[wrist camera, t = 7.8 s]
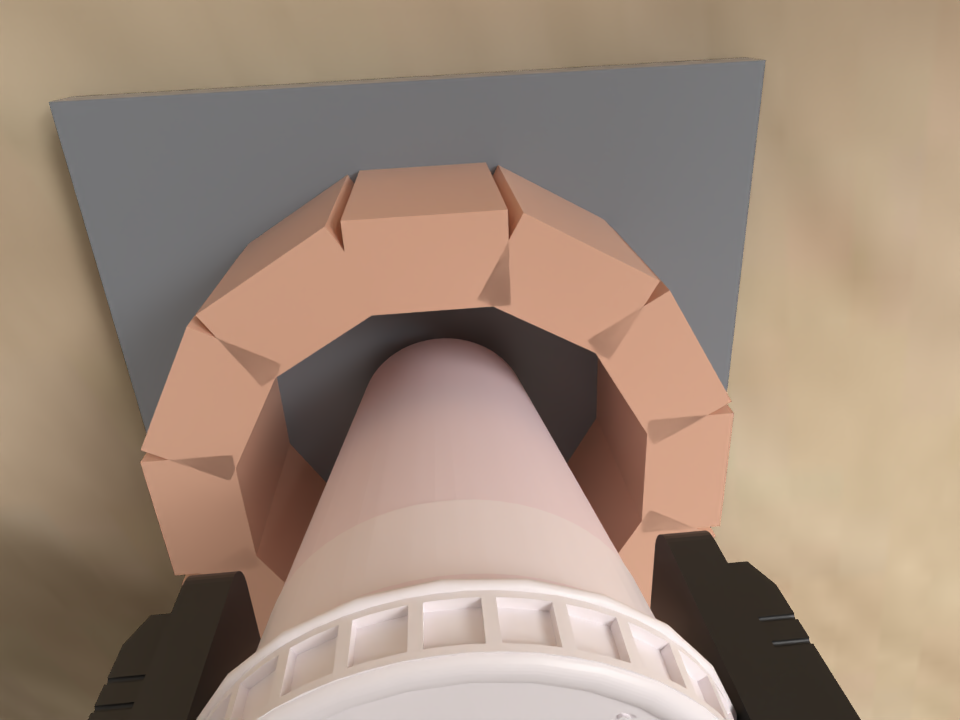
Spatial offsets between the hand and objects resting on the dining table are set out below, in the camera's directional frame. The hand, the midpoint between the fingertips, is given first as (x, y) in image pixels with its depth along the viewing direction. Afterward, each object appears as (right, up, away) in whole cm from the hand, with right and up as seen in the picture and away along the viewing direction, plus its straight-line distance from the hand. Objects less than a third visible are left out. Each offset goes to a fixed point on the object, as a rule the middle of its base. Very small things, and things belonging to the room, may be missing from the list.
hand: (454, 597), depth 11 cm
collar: (-1, +3, +7) cm, 8 cm away
